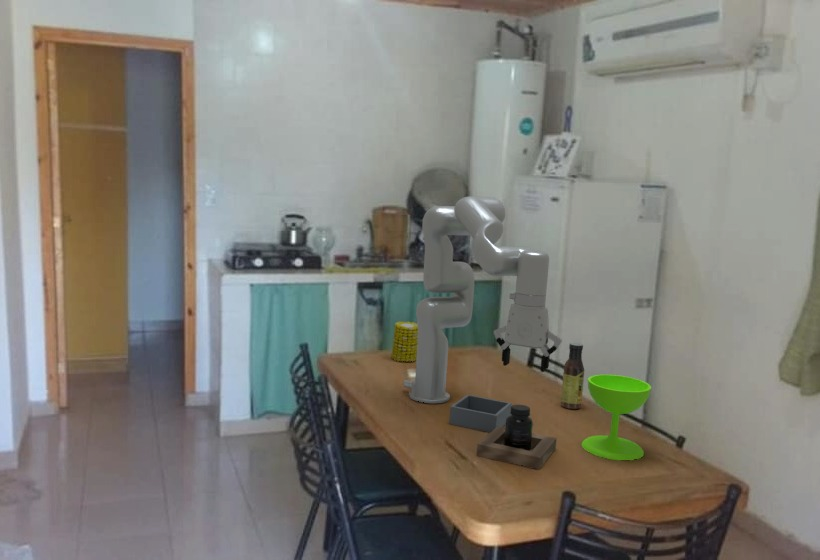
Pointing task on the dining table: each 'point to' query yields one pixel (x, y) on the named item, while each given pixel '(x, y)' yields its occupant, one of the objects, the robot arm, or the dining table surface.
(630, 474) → the dining table surface
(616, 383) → the wineglass
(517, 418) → the supplement bottle
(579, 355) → the sauce bottle
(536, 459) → the socket block
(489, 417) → the bin
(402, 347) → the food
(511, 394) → the dining table surface
